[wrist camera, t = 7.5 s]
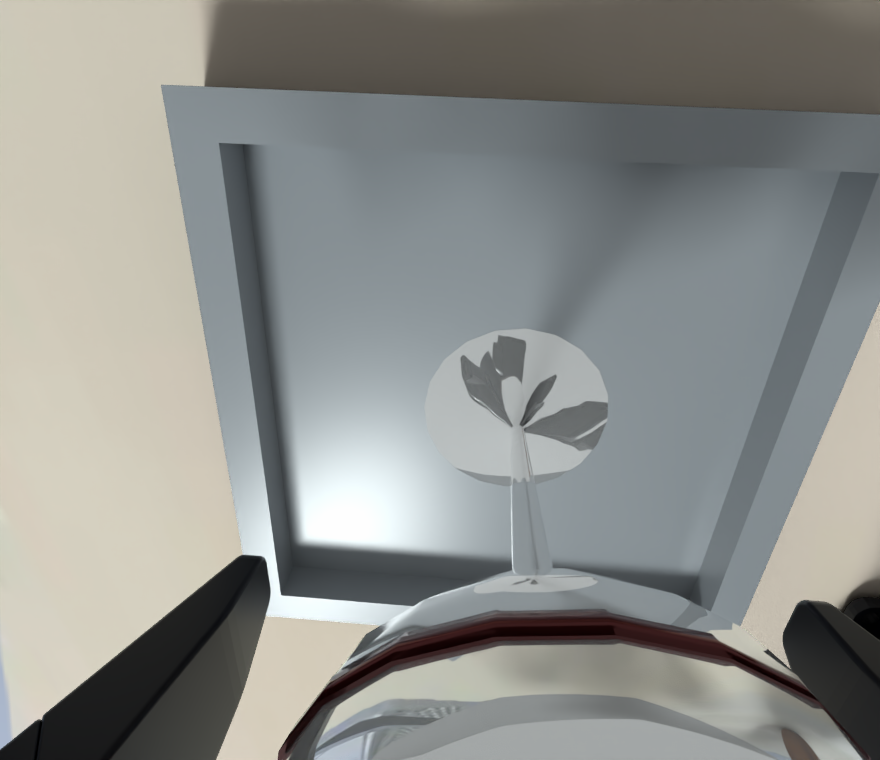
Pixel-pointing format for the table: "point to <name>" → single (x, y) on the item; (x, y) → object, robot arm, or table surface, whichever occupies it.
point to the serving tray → (520, 325)
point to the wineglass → (553, 618)
